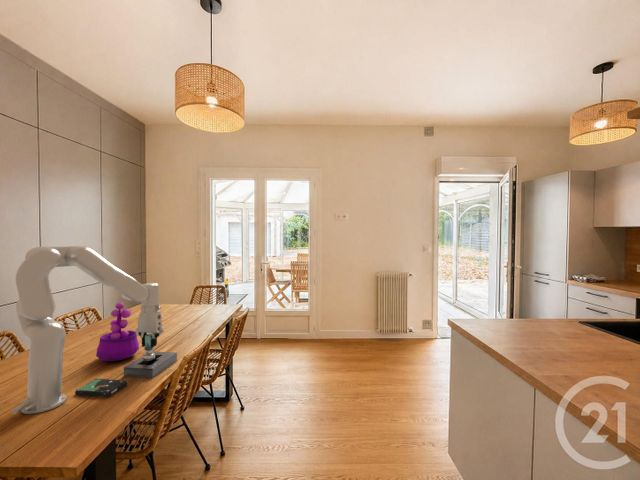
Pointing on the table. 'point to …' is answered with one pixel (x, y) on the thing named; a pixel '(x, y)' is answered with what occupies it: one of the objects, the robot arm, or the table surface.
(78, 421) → the table surface
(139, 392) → the table surface
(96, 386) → the disk drive
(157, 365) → the keyhole deck
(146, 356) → the teal rounded piece
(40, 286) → the robot arm
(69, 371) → the table surface
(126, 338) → the decorative plant
